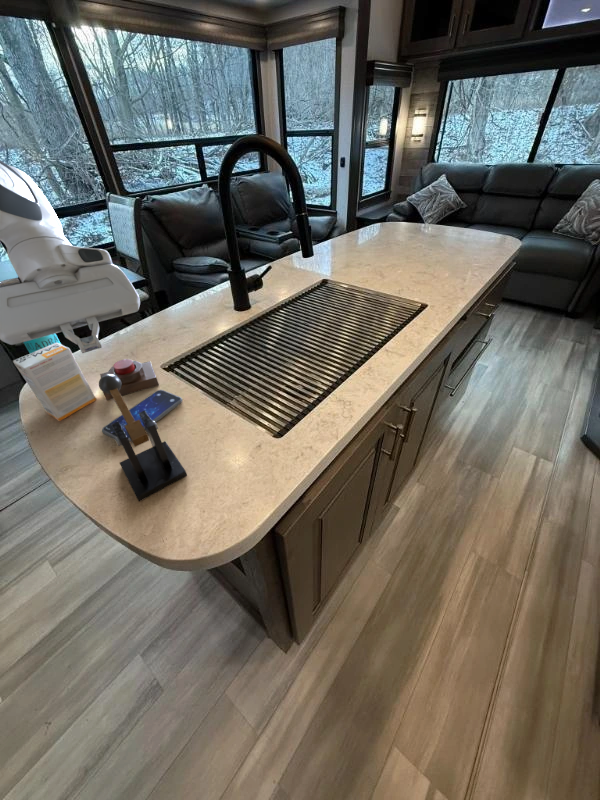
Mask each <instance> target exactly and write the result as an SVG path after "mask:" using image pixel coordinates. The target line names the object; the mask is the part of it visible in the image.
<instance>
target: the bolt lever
mask: <svg viewBox="0 0 600 800" xmlns="http://www.w3.org/2000/svg"><path fill="white" fill-rule="evenodd" d="M121 385H122V384H121V380H120V379H119V378H118V377H117V376H115V375H112V374H107V375H104V376H103V377H101V376H100V379H99V381H98V387H99V389H100V391H102V393H103V392H104V393H107V394H111V395H112V397H113V398H112V399H113V401H114V402H115V404H116V406H117V407H118V409H119V412H120V413H121V415H123V417H124V419H125V421H126V423H127V425H125V429H126V431H127V433H128V435H129V437H130V439H131V443H132V445H133V446H134V447H138V446H140V445H142V444H144V443H146V442H149V441H150V439H149V437H148V434H147V432H146V430H145V429H144V427H143V425H142V424H141V422H140V420H137V421H135V420H134V418H133V416H132V415H131V413H130V411H129V410H130V408H129V407H128V405H127V404H126V402H125V400H124V398H123V396H121V394H120V393H119V390H120V389H121Z"/></svg>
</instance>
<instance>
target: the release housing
mask: <svg viewBox="0 0 600 800" xmlns="http://www.w3.org/2000/svg"><path fill="white" fill-rule="evenodd" d="M132 361H133V364H134V366H135V370H134V371H132V372H131V373H128V374H124V375H118V374H116V372H115V369H114V367H113V366H111V367H110V368H109V369H108V371H105V372H103V373H100V374H99V375H100V378H101V377H103V376H104V375H107V374H112V375H115V376H117V377H118V378H119V379H120V380H121V384H122V385H121V389H120V390H119V393H120V394H121V396H122V397H123V396H126V395H128V394H129V395H130V394H133V393H137V392H139V391H143V390H147V389H150V388H154V387H158V386H159V385H160V384H159V380H158V378H157V375H156V373H155V371H154V367H153V365H152V362H151V361H150V360H149V361H145V362H139V361H137V360H132ZM102 394H103V396H104V398H105V400H106V401H108V400H111V399H114V398H113V397H112V395H111V394H107V393H104V392H103V391H102Z"/></svg>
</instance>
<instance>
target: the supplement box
mask: <svg viewBox="0 0 600 800" xmlns="http://www.w3.org/2000/svg"><path fill="white" fill-rule="evenodd" d="M12 363H13V364H14V366H15V367H16V368H17V370H18V372H19V373H20V375H21V376H22V378H23V379H24V380H25V382H26V384H27V385H28V386H29V388H30V390H31V391H32V392H33V394H34V395H35V397H36V398H37V400H38V401H39V403H40V404H41V406H42V408H43V409H44V411H45V412H46V413H47V415H49V416H50V417H53V418H54V419H56V420H57V421H58V422H61V421H62V420H65V419H66V418H68V417H70V416H72V415H73V414H75V413H76V412H78V411H80V410H82V409H83V408H85V407H86V406H89V405H90V404H92V403H94V402H95V401H97V398H96V396H95V394H94V391H93V390H92V388H91V386H90V384H89V383H88V381H87V379H86V377H85V375H84V373H83V371H82V369H81V367H80V365H79V363H78V362H77V359H76V358H75V356H74V354H73V352H72V350H71V348H70V347H68V346H65V345H64V344H62V343H61V344H59V343H54V344H52V345H49V346H47V347H45V348H42V349H40V350H38V351H35V352H33V353H29V354H26V355H24V356H21V357H19V358H16V359H13V360H12Z"/></svg>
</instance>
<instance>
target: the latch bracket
mask: <svg viewBox="0 0 600 800" xmlns="http://www.w3.org/2000/svg"><path fill="white" fill-rule="evenodd" d="M139 415H140V418H141V420H142V422H143V425H144V427H145V431H146V433H147V435H148V438H149V441H150V444H151V446H152V447H150V448H147V449H145V450H143V451H141V452H139V453H137V454H136V453H135V450H134V447H133V445H132V444H131V442H129V440H128V438H127V436H126V434H125V432H124V430H123V429H122V427H121V425H120V423H119V422H116V423H113V424H112V426H113V428H114V430H115V432H116V434H117V436H118V437H116V438H114V439H113V440H114V441H115V443H116V444H117V446H118V447H121V446H122V448H123V450H124V452H125V454H126V456H127V458H126V459H124V460H122V461H119V465H120V468H121V469H122V471H123V473H124V475H125V477H126V479H127V481H128V483H129V485H130V487H131V490H132V492H133V494H134V496H135V498H136V499H137V501H138V502H141V501H143V500H145V499H148V498H149V497H150V496H152V495H154V494H156V493H158V492H160V491H162V490H163V489H165V488H167V487H169V486H171V485H172V484H173V485H174V484H175V483H176V482H178V481H180V480H183V478H186V477H187V476H188V473H187V471H186V469H185V468H184V467H183V465H182V463H181V462H180V460H179V459H178V458H177V456H176V455H175V453H174V452H173V450H172V449H171V447H170V446H169V445H168V443H167V441H165V440H164V441H162V439H161V437H160V434H159V431H158V429H159V426H158V424H157V422H155V421H152V420H151V419H150V417H149V416H148V414H147V413H146V411H142V412H140V413H139Z"/></svg>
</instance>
